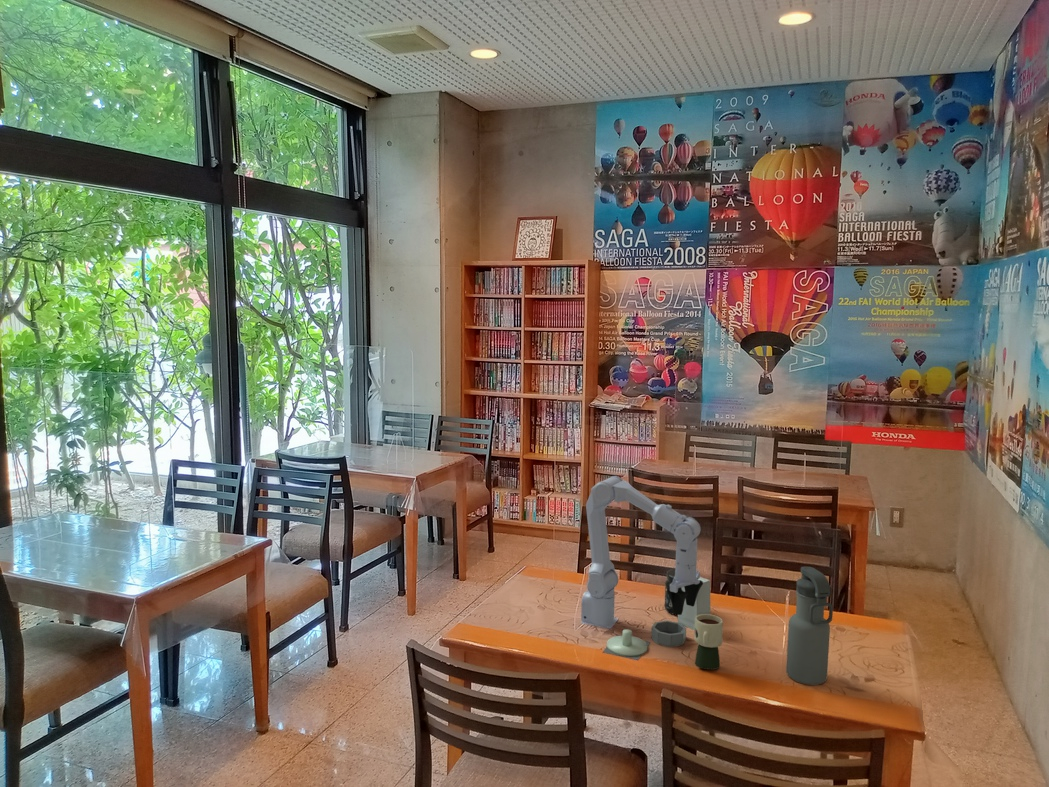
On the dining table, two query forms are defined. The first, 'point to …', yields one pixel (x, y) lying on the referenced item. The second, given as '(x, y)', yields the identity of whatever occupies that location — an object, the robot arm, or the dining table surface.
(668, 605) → the supplement container
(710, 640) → the character mug
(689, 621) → the skincare box
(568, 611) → the dining table surface
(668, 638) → the bowl
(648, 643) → the mat
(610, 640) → the lid
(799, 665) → the water bottle
